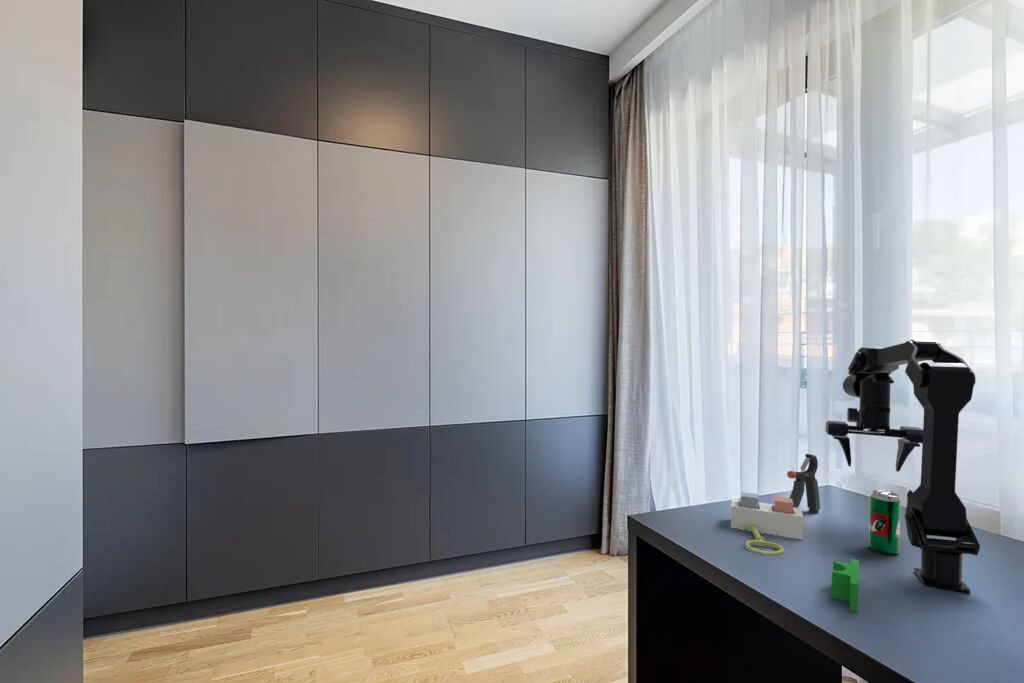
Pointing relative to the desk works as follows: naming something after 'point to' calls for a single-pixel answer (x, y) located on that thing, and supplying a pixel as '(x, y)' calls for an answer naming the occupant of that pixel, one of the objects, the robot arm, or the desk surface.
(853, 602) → the pipe clamp
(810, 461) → the hand grip strengthener
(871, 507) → the soda can
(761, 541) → the key
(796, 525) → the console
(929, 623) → the desk surface
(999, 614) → the desk surface
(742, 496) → the grey button
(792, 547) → the desk surface
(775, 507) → the orange button
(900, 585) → the desk surface
